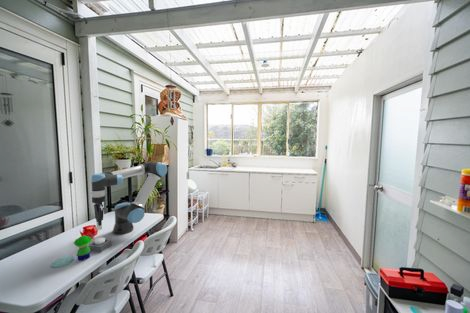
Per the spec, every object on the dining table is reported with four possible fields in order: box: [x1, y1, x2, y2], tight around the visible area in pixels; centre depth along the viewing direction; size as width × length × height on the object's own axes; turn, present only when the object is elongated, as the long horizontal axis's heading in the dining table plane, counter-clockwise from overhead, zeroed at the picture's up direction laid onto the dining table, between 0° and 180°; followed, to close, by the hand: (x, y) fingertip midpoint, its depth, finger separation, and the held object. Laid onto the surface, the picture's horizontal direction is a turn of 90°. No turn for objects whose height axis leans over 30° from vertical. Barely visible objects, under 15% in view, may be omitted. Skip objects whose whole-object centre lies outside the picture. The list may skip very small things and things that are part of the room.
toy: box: [73, 235, 93, 262], centre depth 123 cm, size 9×9×15 cm
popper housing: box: [88, 238, 113, 253], centre depth 136 cm, size 10×10×4 cm
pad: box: [50, 255, 76, 269], centre depth 120 cm, size 11×11×1 cm
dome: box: [94, 237, 106, 245], centre depth 136 cm, size 6×6×3 cm
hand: (99, 229), depth 135 cm, fingers closed
